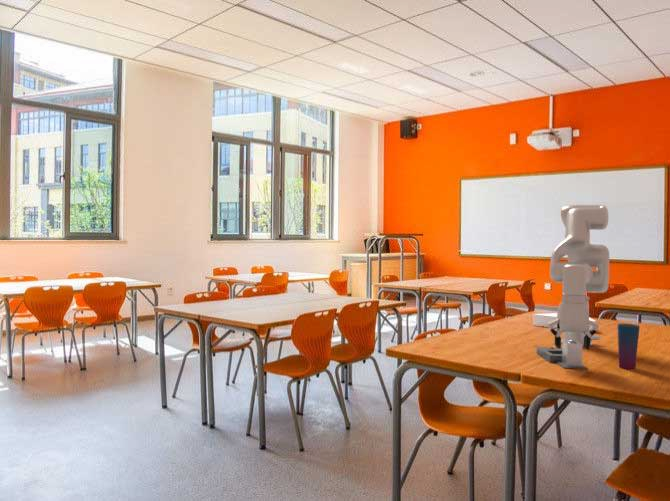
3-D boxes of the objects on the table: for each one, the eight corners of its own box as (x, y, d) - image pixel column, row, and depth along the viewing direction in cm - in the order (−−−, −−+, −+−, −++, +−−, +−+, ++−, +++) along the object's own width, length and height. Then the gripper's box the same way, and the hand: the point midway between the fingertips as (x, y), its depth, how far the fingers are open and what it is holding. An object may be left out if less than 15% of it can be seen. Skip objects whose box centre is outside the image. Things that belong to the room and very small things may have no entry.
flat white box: (532, 326, 283) (533, 314, 283) (551, 320, 303) (551, 309, 303) (595, 334, 264) (595, 321, 264) (610, 327, 283) (611, 315, 283)
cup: (612, 365, 198) (613, 323, 197) (630, 365, 198) (631, 323, 198) (623, 370, 191) (625, 326, 190) (642, 370, 191) (644, 326, 191)
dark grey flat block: (562, 354, 215) (563, 347, 215) (577, 363, 200) (578, 355, 200) (536, 353, 216) (536, 346, 216) (549, 362, 201) (549, 354, 201)
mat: (578, 363, 199) (578, 362, 199) (587, 369, 191) (587, 368, 191) (556, 363, 200) (556, 361, 200) (564, 368, 192) (564, 367, 192)
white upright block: (576, 363, 198) (577, 339, 198) (581, 366, 193) (582, 342, 193) (561, 362, 198) (562, 338, 198) (567, 366, 193) (567, 341, 193)
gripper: (594, 298, 198) (592, 346, 199) (545, 297, 199) (543, 345, 200) (603, 301, 191) (601, 351, 191) (552, 300, 192) (550, 349, 192)
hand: (572, 348), depth 196 cm, fingers open, 9 cm apart
